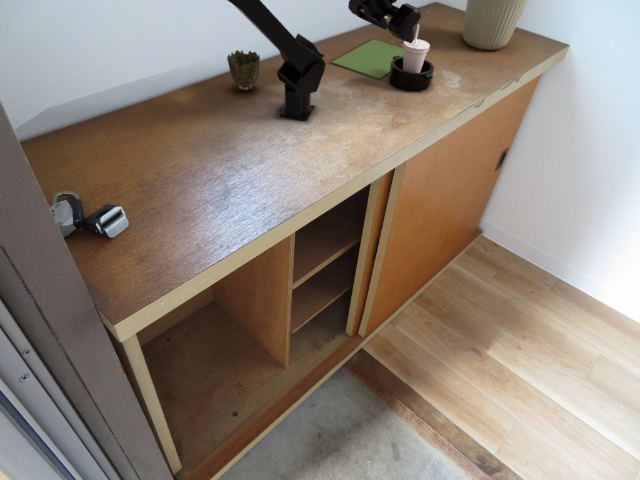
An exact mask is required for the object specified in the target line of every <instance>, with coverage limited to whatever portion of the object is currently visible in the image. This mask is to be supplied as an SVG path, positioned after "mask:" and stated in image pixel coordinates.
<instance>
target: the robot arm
mask: <svg viewBox="0 0 640 480" xmlns="http://www.w3.org/2000/svg"><path fill="white" fill-rule="evenodd" d="M226 1H228V2H229V3H231V4H232V5H233V6H234V7H235V8H236V9H237V10H238V11H239V12H240V14H242V15H243V17H245V18H246V19H247V20H248V21H249V22H250V23H251V24H252V26H254V27H255V28H256V29H257V30H258V31H259V32H260V33H261V34H262V35H263V37H265V39H267V40H268V41H269V42H270V43H271V44H272V45H273V47H275V48H276V49H277V50H278V52H279V54H280V57H281V59H282V60H283V63H282V64H281V66H280V67H278V69H277V70H276V75H277V78H278V81H280V82H282V83H283V84H284V106H283V108H282V109H281V111H280V112H279V116H280V117H283V118H289V119H295V120H299V121H305V122H306V121H308V120H309V118H310V117H311V115H312V114H313V112H314V110H315V109H316V105H314V104H311V101H312V100H311V99H312V94H313V93H314V94H315V93H317V92H318V90H319V86H320V84H321V81H322V78H323V76H324V73H325V70H326V65H327V64H326V61H325V59H324V57H325V54H323V53H322V52H321V51H319V50H318V49H317V46H316V45H315V44H314V43H313V42H312V41H311V40H309V39H308V38H306V37H304V35H302V34H300V33H297V34H296V36H294V35H293V34H292V33H291V32H290V31H289V30H288V29H287V27H286V26H285V25H284V24H283V23H282V22H281V21H280V20H279V19H278V18H277V17H276V16H275V15H274V14H273V12H272V11H270V9H269V8H268V7H267V6H266V5H265V4H264V3H263V2H262V1H261V0H226ZM397 1H398V0H349V1H348V6H347V8H348V10H349V12H351V14H353V15H355V16H356V17H358V18H360V19H361V20H363V21H365V22H367V23H370V24H372V25H374V26H376V27H377V28H378V27H379V28H380V29H382V30H385V31H386V30H387V31H388V32H389V33H390V34H391V36H392V37H395V38H396V39H399V40H401V41H403V42H404V41H406V42H408V43H412V42H413V41H414V39H415V34H414V28H415V26H416V25H418V22H419V21H420V20H421V19H422V13H421V10H420V9H419V8H418V7H416V6H415V5H412V4H409V3H402V4H401V5H400V7H398V6H397V5H394V4H395V3H397ZM386 17H387V18H389V19H390V20H389V21H388V22H387V19H386Z"/></svg>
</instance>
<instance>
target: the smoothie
mask: <svg viewBox="0 0 640 480" xmlns="http://www.w3.org/2000/svg"><path fill="white" fill-rule="evenodd" d="M416 25H417V26H416V29H415V34H414V41H413V42H412V43H408V42H406V41H403V45H402V48H404V57H403V71H407V72H411V73H420V71H421V68H422V65H423V62H424V59H425V60H426V56H427V54H428V52H429V51H430V47H431V44H430V43H429V42H428V41H427V40H423V39H419V38H418V36H419V30H420V24H418V23H417V24H416Z"/></svg>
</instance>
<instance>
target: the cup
mask: <svg viewBox="0 0 640 480" xmlns="http://www.w3.org/2000/svg"><path fill="white" fill-rule="evenodd" d="M226 58H227V59H226V60H227V63H228V64H227V65H228V68H229V72H230V76H231V79H232V80H233V82H234V83H235V84H236V85H237V88H238V90H239V91H240V92H243V93H248V92H251V91H252V90H254V87H255V86H254V85H255V84H256V83H257V81H258V79H259V75H260V65H261V64H260V63H261V62H260V61H261V57H260V54H258V53H257V52H256V51H251V50H249V51H248V53H244V50H238V49H236V50H235V51H234V52H233V51H231V53H230V54H229V53H228V55H226Z"/></svg>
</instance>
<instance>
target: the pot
mask: <svg viewBox="0 0 640 480" xmlns="http://www.w3.org/2000/svg"><path fill="white" fill-rule="evenodd" d="M403 57H404V56H402V57H400V56H399V55H398V56H393V61H392V62H391V67H390V73H388V81H389V84H390V85H391V86H392V87H394V88H396V89H397V90H401V91H405V92H422V91H426V90H428V88H429V87H430V86H431V83H432V80H433V78H434V70H435V66H434V65H433V63H432V62H430V61H429V60H427V59H426V58H425V59H424V62H423V65H422V68H421V71H420V73H411V72H407V71H403Z"/></svg>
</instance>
